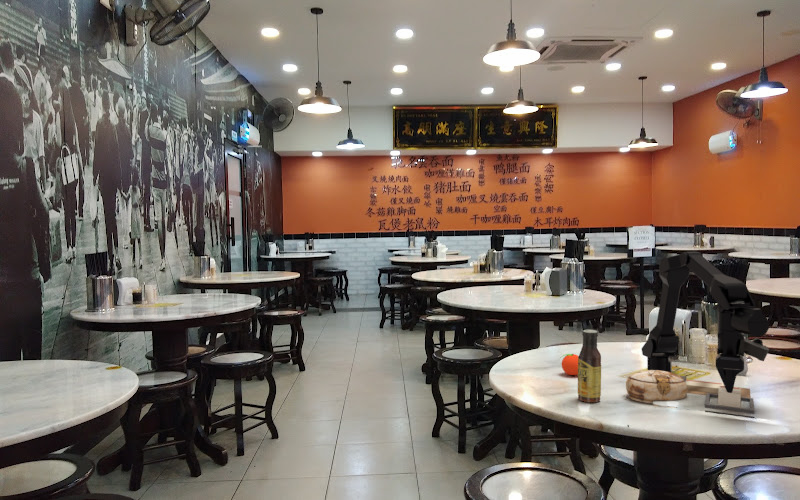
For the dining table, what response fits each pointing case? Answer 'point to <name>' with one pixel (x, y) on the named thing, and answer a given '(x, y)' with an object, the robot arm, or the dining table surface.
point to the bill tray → (729, 406)
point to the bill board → (709, 387)
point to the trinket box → (655, 386)
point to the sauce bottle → (589, 368)
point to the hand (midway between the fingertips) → (729, 387)
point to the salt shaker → (744, 366)
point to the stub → (729, 397)
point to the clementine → (570, 364)
